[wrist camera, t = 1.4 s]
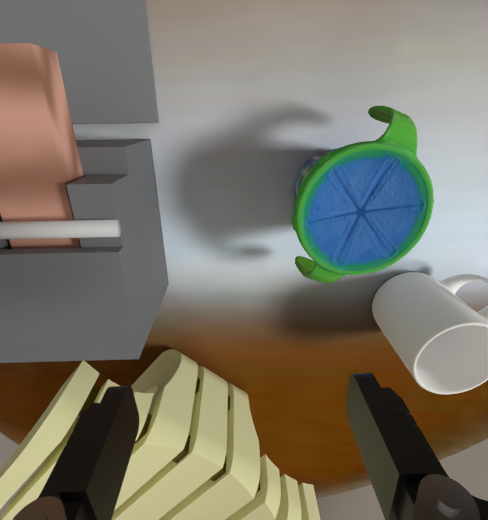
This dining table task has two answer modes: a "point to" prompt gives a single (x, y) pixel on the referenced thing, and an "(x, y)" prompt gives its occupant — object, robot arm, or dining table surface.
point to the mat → (91, 54)
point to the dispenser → (88, 265)
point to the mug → (434, 330)
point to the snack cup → (362, 203)
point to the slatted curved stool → (168, 450)
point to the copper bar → (35, 142)
